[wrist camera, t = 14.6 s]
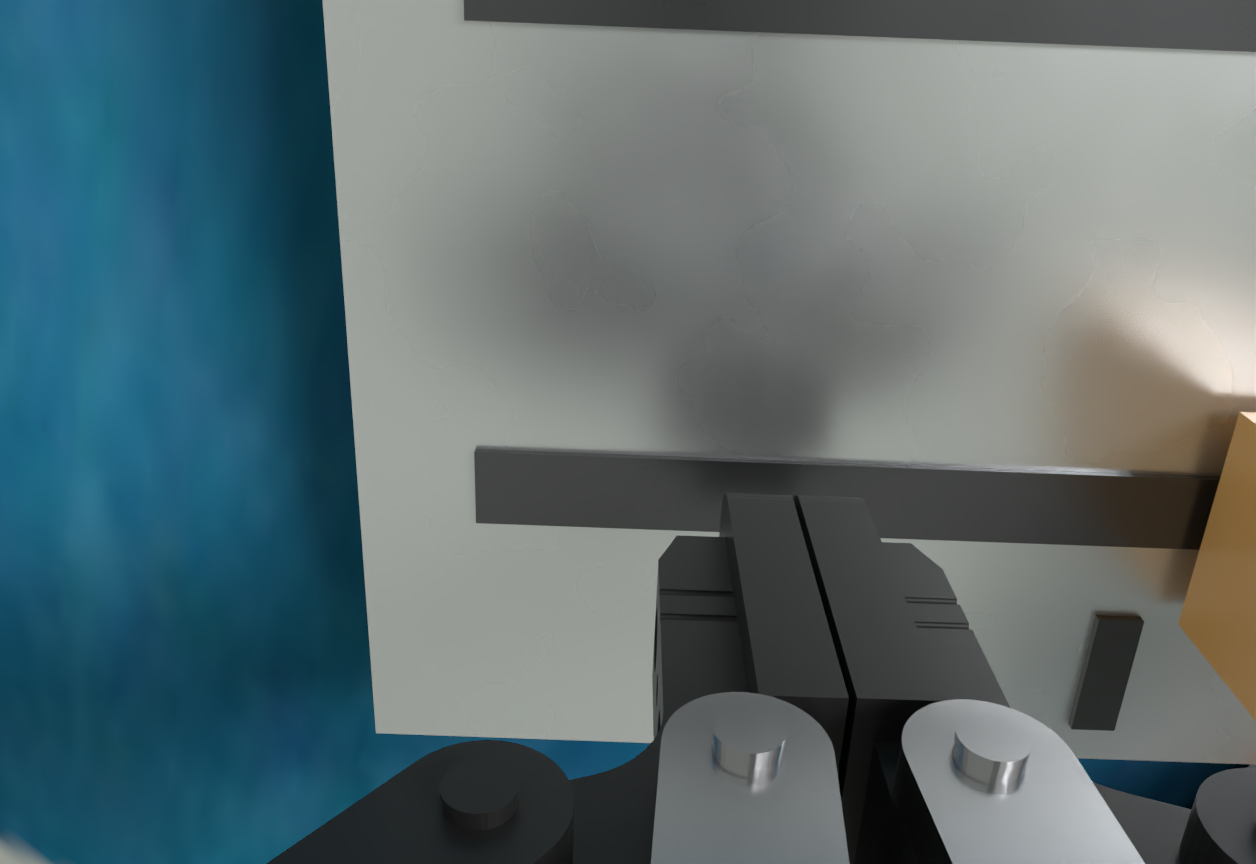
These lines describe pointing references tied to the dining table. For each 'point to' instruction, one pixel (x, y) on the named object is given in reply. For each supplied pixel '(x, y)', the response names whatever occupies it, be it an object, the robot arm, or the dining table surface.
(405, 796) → the robot arm
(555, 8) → the console
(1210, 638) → the fader orange
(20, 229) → the dining table surface
